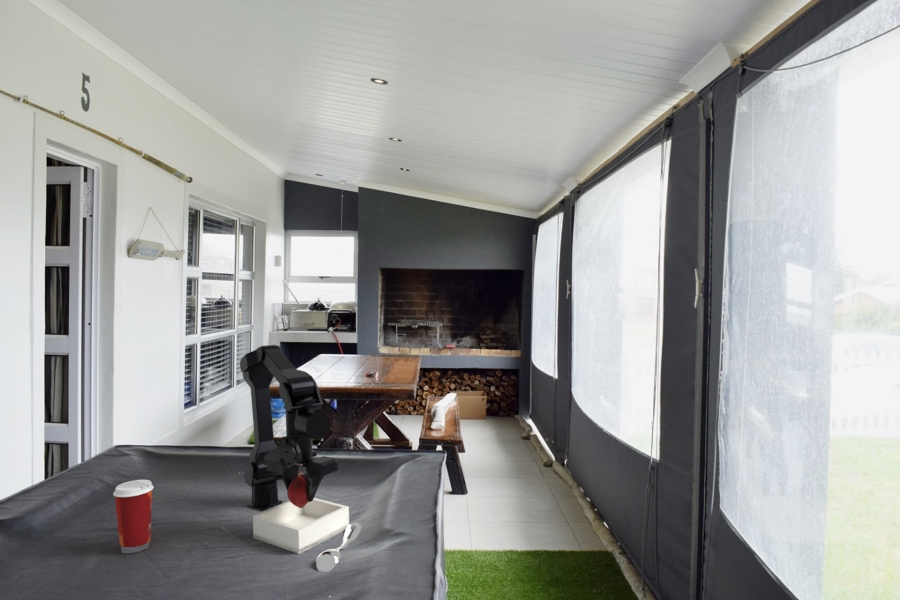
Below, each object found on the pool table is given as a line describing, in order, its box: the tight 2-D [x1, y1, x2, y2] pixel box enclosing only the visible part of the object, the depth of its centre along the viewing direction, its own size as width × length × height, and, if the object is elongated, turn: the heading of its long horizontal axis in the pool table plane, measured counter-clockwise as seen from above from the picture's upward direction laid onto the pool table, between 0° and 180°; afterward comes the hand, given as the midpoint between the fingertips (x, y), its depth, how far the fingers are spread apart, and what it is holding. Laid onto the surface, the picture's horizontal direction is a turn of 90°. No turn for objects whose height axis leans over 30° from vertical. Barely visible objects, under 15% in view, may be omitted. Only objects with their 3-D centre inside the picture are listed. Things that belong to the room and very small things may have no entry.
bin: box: [252, 497, 350, 555], centre depth 128 cm, size 15×15×5 cm
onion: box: [286, 472, 308, 508], centre depth 128 cm, size 6×6×8 cm
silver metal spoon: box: [315, 521, 362, 573], centre depth 120 cm, size 20×4×5 cm
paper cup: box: [112, 479, 155, 547], centre depth 122 cm, size 8×8×14 cm
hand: (300, 498), depth 128 cm, fingers closed on onion, 6 cm apart
